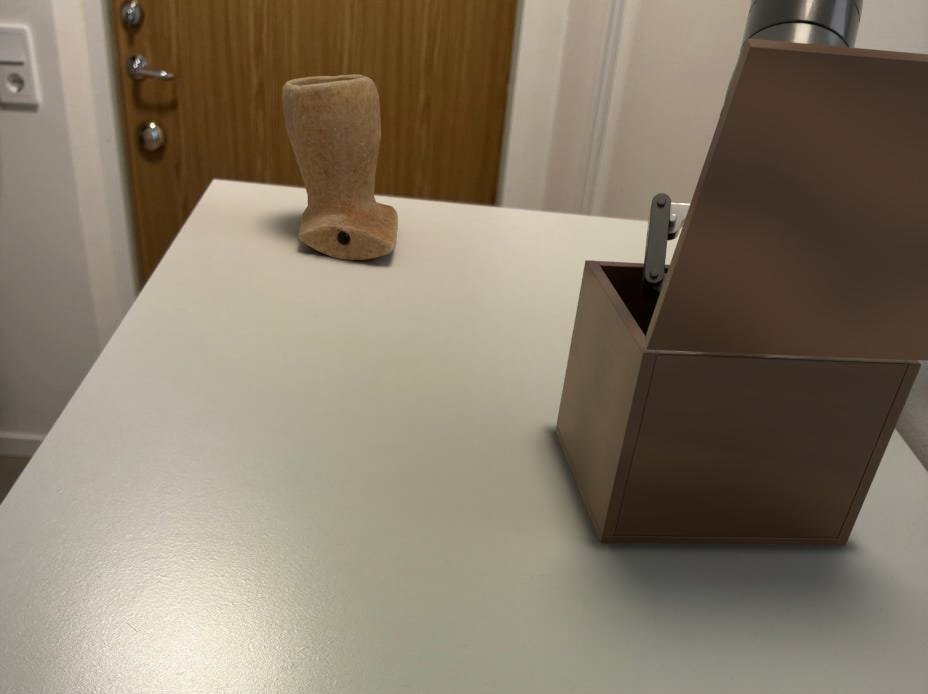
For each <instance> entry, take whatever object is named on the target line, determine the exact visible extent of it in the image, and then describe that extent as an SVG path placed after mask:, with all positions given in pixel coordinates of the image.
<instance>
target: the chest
mask: <svg viewBox="0 0 928 694" xmlns="http://www.w3.org/2000/svg"><path fill="white" fill-rule="evenodd" d="M669 266H670V264H665V270H664V273H665V274H667V272H668V269H669ZM643 268H644V262H628V261H627V262H625V261H606V260H589V259H588V260H587V259H585V261H584V266H583V271H582V278H581V283H580V289H579V293H578V300H577V306H576V312H575V317H574V324H573V327H572V328H573V329H572V334H571V340H570V345H569V351H568V357H567V362H566V369H565V374H564V380H563V386H562V390H561V391H562V392H561V397H560V402H559V408H558V409H559V410H558V413H557V419H556V426H555V432H554V433H555V435H556V437H557V439H558V441H559V444H560V446H561V449H562V451H563V453H564V456H565V459H566V461H567V464H568V467H569V469H570V472H571V474H572V476H573V479H574V482H575V483H576V486H577V489H578V492H579V494H580V496H581V499H582V501H583V503H584V506H585V509H586V511H587V514H588V516H589V518H590V521H591V524H592V526H593V528H594V532H595V533H596V536H597V539H598V541H599V543H600V544H659V545H660V544H662V545H663V544H664V545H667V544H670V545H671V544H673V545H751V546H752V545H755V546H756V545H759V546H763V545H764V546H766V545H767V546H768V545H770V546H847V543H848V541H849V539H850V536H851V533H852V531H853V529H854V527H855V524H856V523H857V520H858V517H859V514H860V512H861V509H862V508H863V505H864V503H865V500H866V498H867V495H868V494H869V491H870V489H871V486H872V484H873V481H874V479H875V476H876V474H877V472H878V469H879V467H880V465H881V462H882V460H883V457H884V455H885V453H886V450H887V448H888V445H889V443H890V441H891V438H892V436H893V433H894V432H895V429H896V426H897V424H898V422H899V420H900V417H901V415H902V412H903V410H904V408H905V406H906V403H907V400H908V398H909V396H910V393H911V392H912V391H911V390H912V389H913V386H914V384H915V381H916V379H917V377H918V374H919V372H920V370H921V367H922V363H920V362H919V360H895V359H870V358H845V357H819V356H794V355H769V354H744V353H719V352H693V351H668V350H647V348H646V345H645V342H644V340H645V337H646V334H647V331H648V328H649V325H650V322H651V319H652V316H653V313H654V310H655V307H656V304H657V301H655V300H646V299H645V298H644V297H643V296H642V294H641V288H642V278H643Z"/></svg>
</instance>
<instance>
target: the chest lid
mask: <svg viewBox="0 0 928 694" xmlns="http://www.w3.org/2000/svg"><path fill="white" fill-rule="evenodd" d="M724 101H725V103H724V102H723V105H724V106H723V105H722V108H723V109H722V108H721V110H722V112H721V111H720V113H721V115H720V114H719V118H718V121H717V124H716V127H715V130H714V131H713V135H712V138H711V142H710V145H709V148H708V150H707V153H706V155H705V159H704V162H703V165H702V168H701V172H700V173H699V177H698V180H697V182H696V186H695V189H694V192H693V195H692V198H691V201H690V206H689V209H688V212H687V215H686V218H685V221H684V224H683V227H682V228H681V229H680V232H679V235H678V239H677V243H676V245H675V248H674V251H673V254H672V256H671V260H670V263H669V265H670V266H669V269H668V272H667V275H666V278H665V281H664V283H663V286H662V289H661V292H660V295H659V298H658V301H657V304H656V307H655V310H654V313H653V316H652V319H651V322H650V325H649V328H648V331H647V334H646V337H645V340H644V342H645V345H646V348H647V350H668V351H693V352H719V353H744V354H769V355H794V356H819V357H845V358H870V359H895V360H917V361H920V362H921V361H922V362H923V361H924V362H927V361H928V53H919V52H918V53H916V52H906V51H894V50H885V49H883V50H882V49H871V48H862V47H861V48H859V47H854V48H850V47H839V46H828V45H816V44H805V43H794V42H782V41H771V40H759V39H746V41H745V44H744V47H743V50H742V52H741V55H740V58H739V61H738V64H737V67H736V70H735V73H734V76H733V79H732V82H731V85H730V88H729V91H728V94H727V97H726V100H725V99H724Z"/></svg>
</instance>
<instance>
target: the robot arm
mask: <svg viewBox="0 0 928 694" xmlns="http://www.w3.org/2000/svg"><path fill="white" fill-rule="evenodd" d="M863 7H864V0H750V5H749V11H748V14H747V18H746V22H745V27H744V32H743V36H742V40H741V45H740V48H739V54H738V56H737V61H736V63H735V66H734V69H733V71H732V74H731V76H730V79H729V82H728V85H727V89H726V94H725V96H724V102H723V105H722V108H721V111H720V113H719V116H720V115H721V112H722V109H723V106H724V103H725V100H726V97H727V94H728V91H729V88H730V85H731V82H732V79H733V76H734V73H735V70H736V67H737V64H738V61H739V58H740V55H741V52H742V50H743V47H744V44H745V41H746V39H759V40H771V41H782V42H794V43H805V44H816V45H828V46H839V47H850V48H856V41H857V37H858V32H859V27H860V23H861V19H862V13H863ZM690 204H691V202H690V203H687V202H672V199H671V196H669V195H668V194H667V193H663V192H661V193H657V194H655V195H654V196H653V198H652V199H651V204H650V209H649V215H648V220H647V228H646V239H645V248H644V249H645V250H644V260H643V263H644V268H643V278H642V288H641V294H642V296H643V297H644V298H645V299H646V300H655V301H658V298H659V295H660V292H661V289H662V286H663V283H664V281H665V278H666V275H667V274H665V273H664V270H665V265H666V260H667V248H668V242H669V241H674V240H675V239H677V238H678V237H679V236H680V232H681V230H682V227H683V224H684V221H685V218H686V215H687V212H688V209H689V206H690Z"/></svg>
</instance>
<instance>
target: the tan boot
mask: <svg viewBox="0 0 928 694" xmlns="http://www.w3.org/2000/svg"><path fill="white" fill-rule="evenodd" d="M281 99H282V107H283V117H284V126H285V130H286V133H287V137H288V140H289V142H290V144H291V148H292V151H293V154H294V156H295V160H296V163H297V167H298V169H299V172H300V174H301V178H302V181H303V184H304V188H305V191H306V195H307V206H306V208H305V210H304V211H303V213H302V214H301V215H302V216H301V220H300V225H299V231H298V235H297V236H298V240H299V241H300V242H302V243H303V244H305V245H306V246H308V247H310V248H311V249H313V250H315V251H317V252H319V253H322V254H324V255H327V256H328V257H331V258H335V259H339V260H346V261H364V260H370V259H375V258H378V257H384V256H386V255H388V254H390V253H392V251H394V248H395V246H396V243H397V238H398V230H399V215H398V211H397V210H396V208H395V207H394V206H392V205H389V204H384V203H381V202H378V201H376V198H375V184H376V171H377V165H378V158H379V153H380V149H381V141H382V123H381V122H382V121H381V107H380V95H379V91H378V88H377V85H376V83H375V82H374V80H373V79H372V78H369V77H368V76H367V75H363V74H339V75H334V76H333V75H332V76H331V75H318V76H317V75H316V76H306V77H299V78H294V79H290V80H288V81H286V82H285V83H284V84H283V86H282V89H281Z"/></svg>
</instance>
